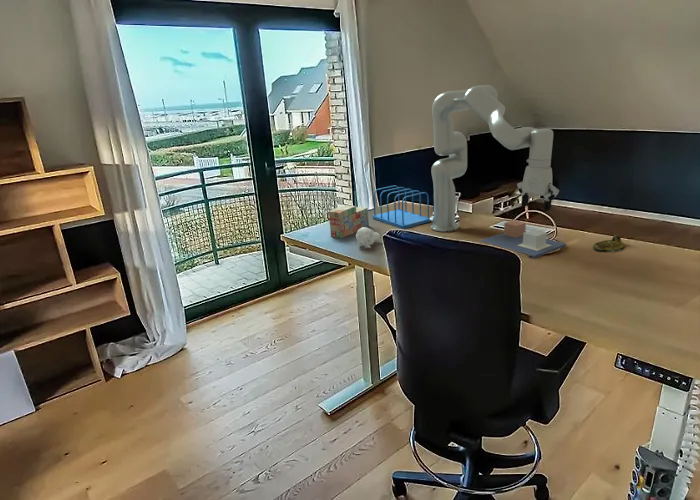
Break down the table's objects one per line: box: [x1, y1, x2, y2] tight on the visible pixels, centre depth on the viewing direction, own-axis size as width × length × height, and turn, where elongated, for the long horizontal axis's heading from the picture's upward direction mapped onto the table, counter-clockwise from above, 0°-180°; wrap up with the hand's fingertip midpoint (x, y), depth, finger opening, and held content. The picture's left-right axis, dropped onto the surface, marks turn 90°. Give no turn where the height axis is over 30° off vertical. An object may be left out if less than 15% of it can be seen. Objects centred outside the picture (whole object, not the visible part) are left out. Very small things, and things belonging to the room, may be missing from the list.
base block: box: [523, 229, 548, 249], centre depth 183 cm, size 6×6×5 cm
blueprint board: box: [478, 232, 567, 259], centre depth 189 cm, size 26×20×1 cm
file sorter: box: [372, 185, 432, 230], centre depth 232 cm, size 25×17×15 cm
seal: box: [592, 233, 625, 253], centre depth 179 cm, size 9×5×15 cm
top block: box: [503, 219, 527, 238], centre depth 198 cm, size 6×6×5 cm
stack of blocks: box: [328, 204, 370, 239], centre depth 220 cm, size 21×6×12 cm, turn 141°
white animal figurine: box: [355, 227, 381, 249], centre depth 200 cm, size 6×8×12 cm
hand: (535, 208), depth 180 cm, fingers open, 9 cm apart
